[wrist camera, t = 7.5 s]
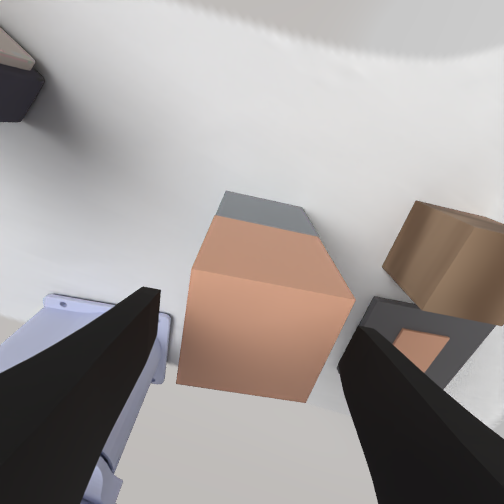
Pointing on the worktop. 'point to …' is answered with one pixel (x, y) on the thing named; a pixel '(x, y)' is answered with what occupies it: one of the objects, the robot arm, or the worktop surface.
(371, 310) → the board
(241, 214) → the slate block
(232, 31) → the worktop surface
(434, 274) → the walnut block
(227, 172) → the worktop surface
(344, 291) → the terracotta block
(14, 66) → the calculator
